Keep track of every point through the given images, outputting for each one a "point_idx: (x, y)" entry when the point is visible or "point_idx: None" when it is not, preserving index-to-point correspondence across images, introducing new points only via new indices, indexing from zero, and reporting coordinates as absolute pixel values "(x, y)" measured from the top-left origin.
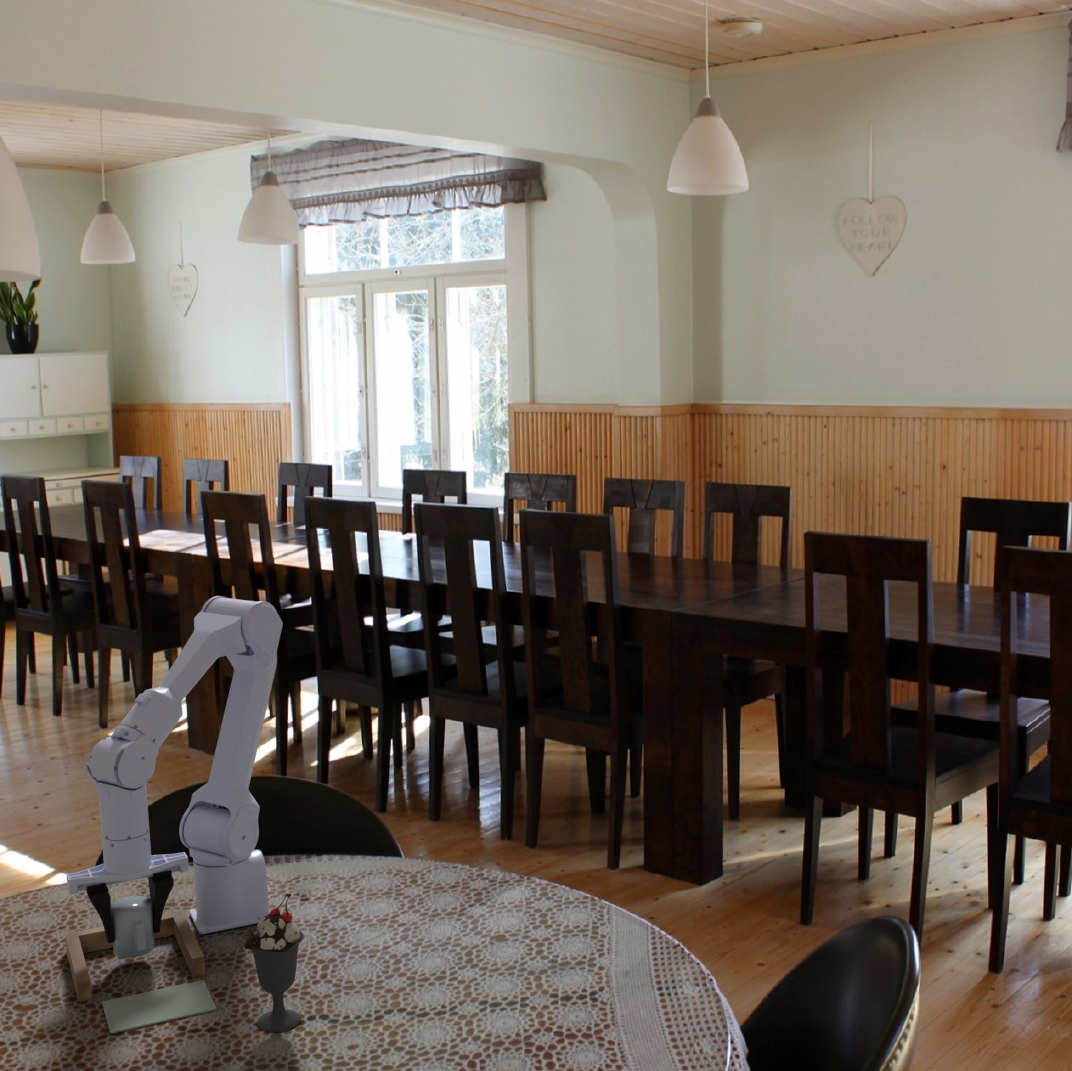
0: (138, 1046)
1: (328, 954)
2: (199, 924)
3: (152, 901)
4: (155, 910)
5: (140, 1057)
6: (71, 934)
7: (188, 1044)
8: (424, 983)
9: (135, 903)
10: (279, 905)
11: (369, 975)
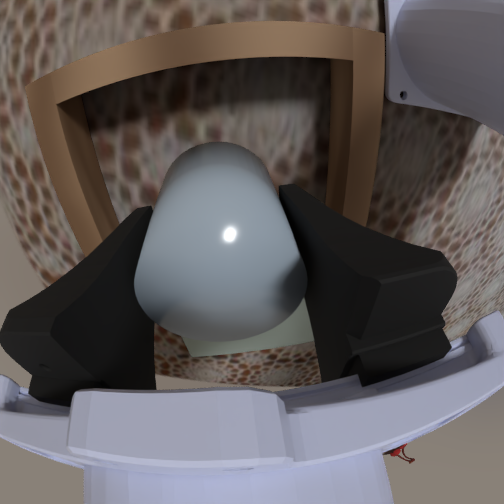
0: (224, 371)
1: (470, 253)
2: (396, 60)
3: (310, 269)
4: (304, 295)
5: (226, 380)
6: (39, 93)
7: (272, 373)
8: (467, 315)
9: (239, 296)
10: (400, 457)
11: (458, 300)
